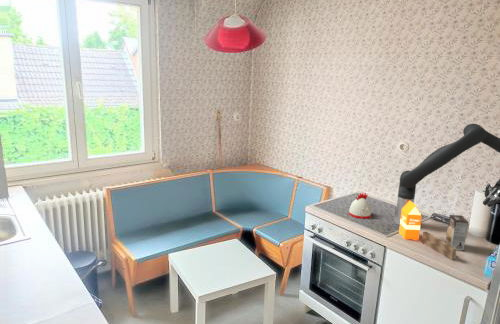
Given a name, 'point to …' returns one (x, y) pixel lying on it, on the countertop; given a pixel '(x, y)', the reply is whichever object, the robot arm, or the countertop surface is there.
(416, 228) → the orange juice
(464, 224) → the coffee box
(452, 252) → the walnut board
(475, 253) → the countertop surface
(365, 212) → the kitchen timer
